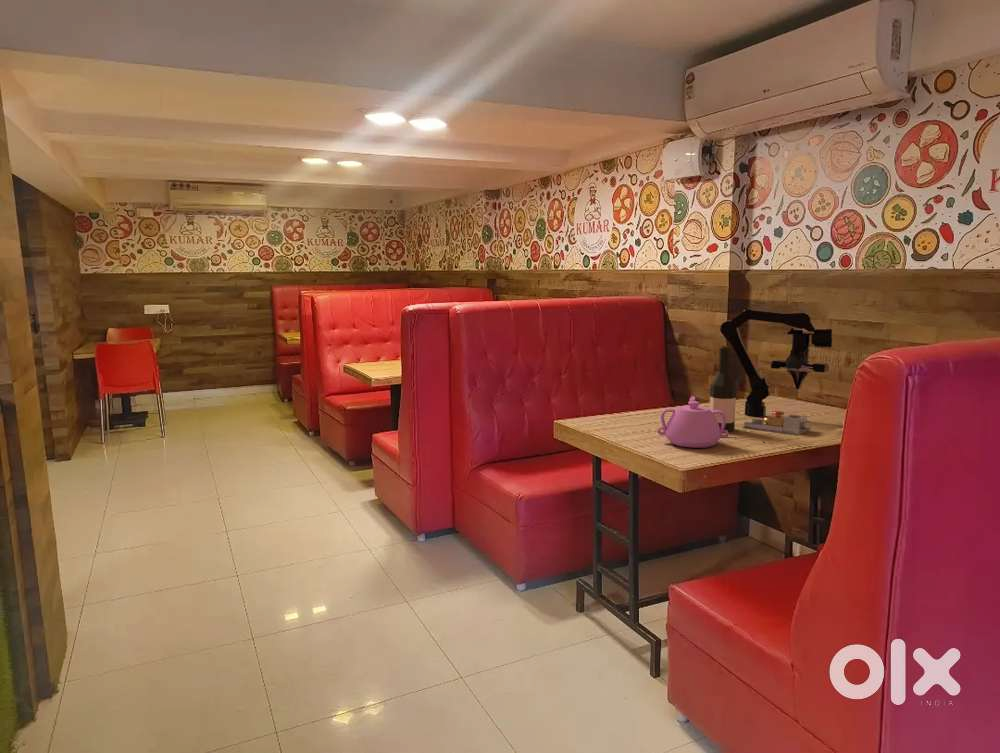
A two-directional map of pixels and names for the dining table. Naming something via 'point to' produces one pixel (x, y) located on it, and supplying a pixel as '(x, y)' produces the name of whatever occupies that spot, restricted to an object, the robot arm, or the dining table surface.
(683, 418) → the purple lidded pot
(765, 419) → the valve
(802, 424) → the grey metal channel
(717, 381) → the wine bottle
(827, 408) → the dining table surface
